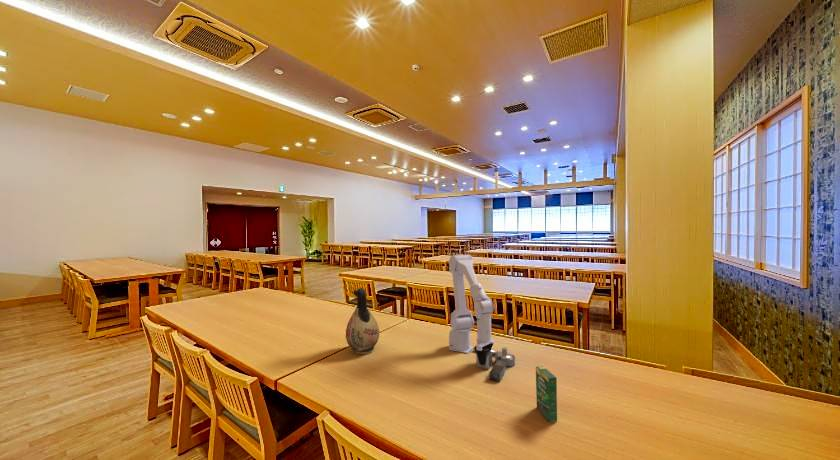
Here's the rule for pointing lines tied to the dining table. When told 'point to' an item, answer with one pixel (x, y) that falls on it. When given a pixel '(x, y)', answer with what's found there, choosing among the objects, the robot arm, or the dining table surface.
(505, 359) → the ratchet
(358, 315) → the ceramic jug
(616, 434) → the dining table surface
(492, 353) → the bar
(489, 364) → the socket
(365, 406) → the dining table surface
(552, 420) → the coffee box
